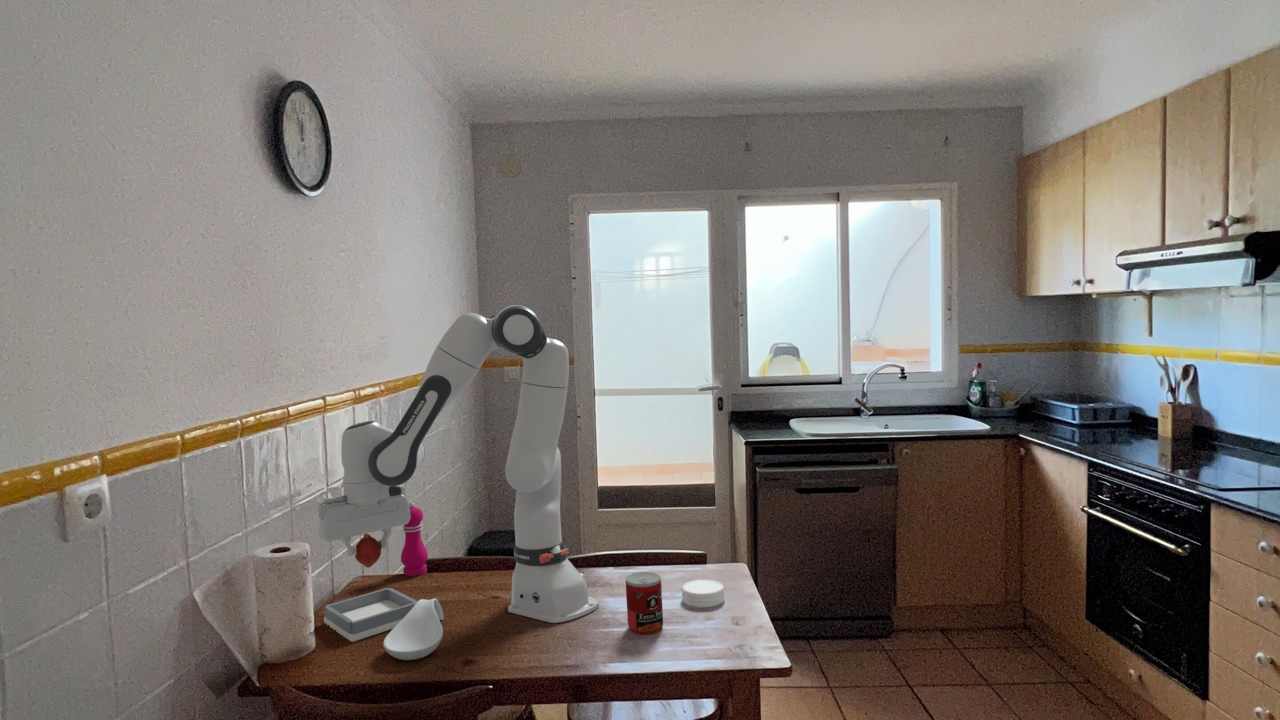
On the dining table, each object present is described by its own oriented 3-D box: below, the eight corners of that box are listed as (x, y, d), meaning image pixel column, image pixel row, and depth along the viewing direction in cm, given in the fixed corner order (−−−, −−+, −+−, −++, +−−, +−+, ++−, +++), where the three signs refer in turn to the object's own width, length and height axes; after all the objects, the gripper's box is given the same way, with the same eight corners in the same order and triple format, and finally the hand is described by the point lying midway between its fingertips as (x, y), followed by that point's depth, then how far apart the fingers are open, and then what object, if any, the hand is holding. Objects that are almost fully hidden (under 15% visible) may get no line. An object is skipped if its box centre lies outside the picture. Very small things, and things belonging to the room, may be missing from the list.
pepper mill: (432, 568, 204) (428, 498, 204) (422, 577, 197) (418, 504, 197) (408, 568, 205) (404, 499, 204) (397, 577, 198) (392, 505, 197)
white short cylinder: (706, 590, 177) (706, 575, 177) (733, 601, 169) (732, 586, 169) (673, 600, 172) (673, 585, 172) (699, 612, 163) (699, 597, 163)
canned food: (638, 638, 151) (635, 586, 150) (621, 625, 158) (619, 576, 157) (670, 630, 154) (667, 579, 154) (652, 617, 161) (650, 569, 161)
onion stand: (420, 619, 167) (419, 602, 167) (352, 642, 156) (350, 623, 156) (390, 603, 179) (389, 587, 178) (324, 623, 168) (323, 606, 167)
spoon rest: (437, 665, 143) (435, 629, 143) (377, 670, 142) (374, 634, 142) (458, 619, 167) (456, 588, 167) (406, 623, 166) (404, 592, 166)
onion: (360, 564, 170) (358, 530, 169) (385, 562, 170) (383, 528, 170) (351, 572, 164) (349, 537, 164) (377, 570, 164) (375, 535, 164)
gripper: (323, 502, 157) (327, 565, 157) (411, 486, 171) (415, 543, 171) (312, 498, 161) (316, 560, 162) (399, 482, 175) (403, 539, 176)
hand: (367, 551), depth 167 cm, fingers closed on onion, 6 cm apart
